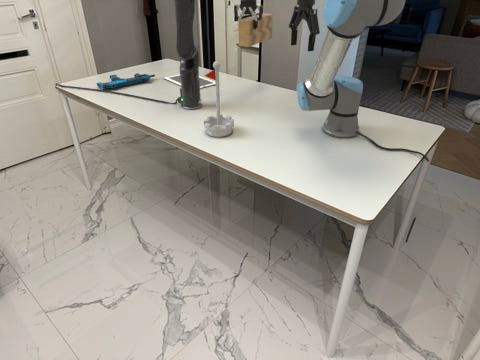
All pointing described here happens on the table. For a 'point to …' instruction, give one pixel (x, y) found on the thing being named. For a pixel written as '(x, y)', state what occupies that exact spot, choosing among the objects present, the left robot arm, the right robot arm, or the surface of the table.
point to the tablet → (203, 81)
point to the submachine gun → (124, 81)
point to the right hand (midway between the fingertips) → (301, 48)
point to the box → (252, 36)
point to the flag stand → (218, 111)
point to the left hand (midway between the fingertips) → (248, 28)
